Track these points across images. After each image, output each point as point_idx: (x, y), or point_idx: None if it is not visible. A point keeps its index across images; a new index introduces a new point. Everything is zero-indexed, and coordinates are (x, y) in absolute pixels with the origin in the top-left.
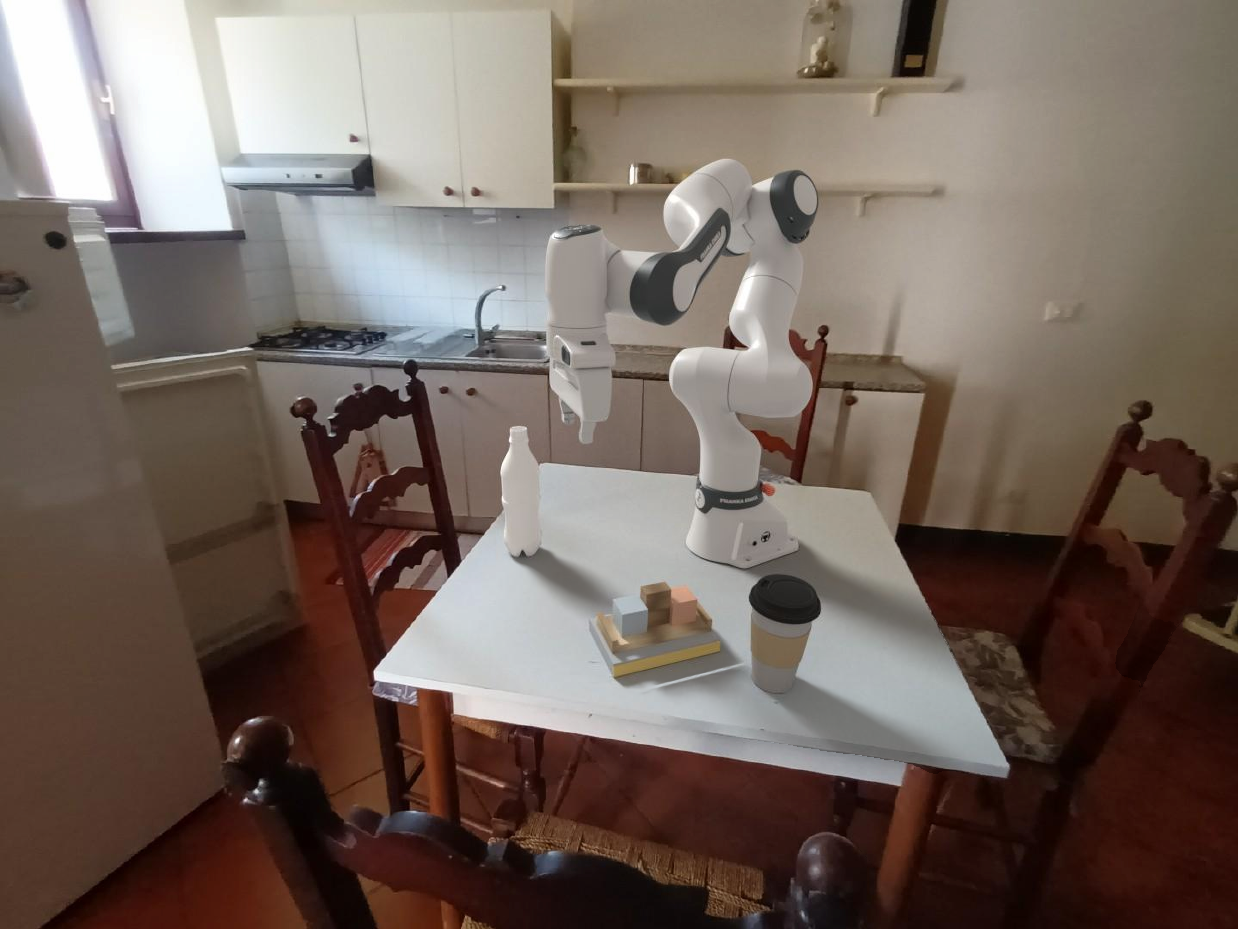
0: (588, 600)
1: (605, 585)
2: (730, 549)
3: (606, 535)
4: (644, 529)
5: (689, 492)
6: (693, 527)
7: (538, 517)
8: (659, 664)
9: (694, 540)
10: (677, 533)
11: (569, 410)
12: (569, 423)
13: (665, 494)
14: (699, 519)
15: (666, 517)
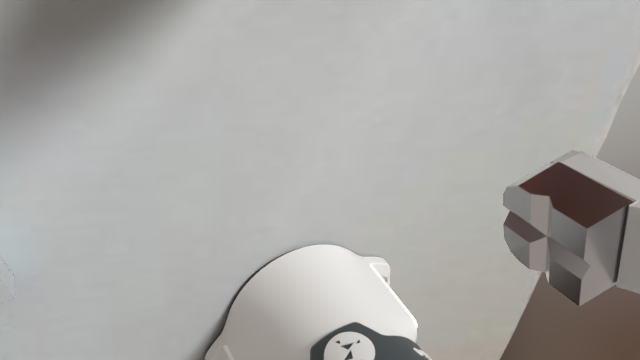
0: (23, 25)
1: (113, 71)
2: (237, 355)
3: (363, 62)
4: (378, 152)
5: None
6: (317, 287)
7: None
8: None
9: (288, 278)
10: (353, 223)
11: (638, 265)
12: (513, 215)
13: None
14: (315, 319)
15: (420, 195)
